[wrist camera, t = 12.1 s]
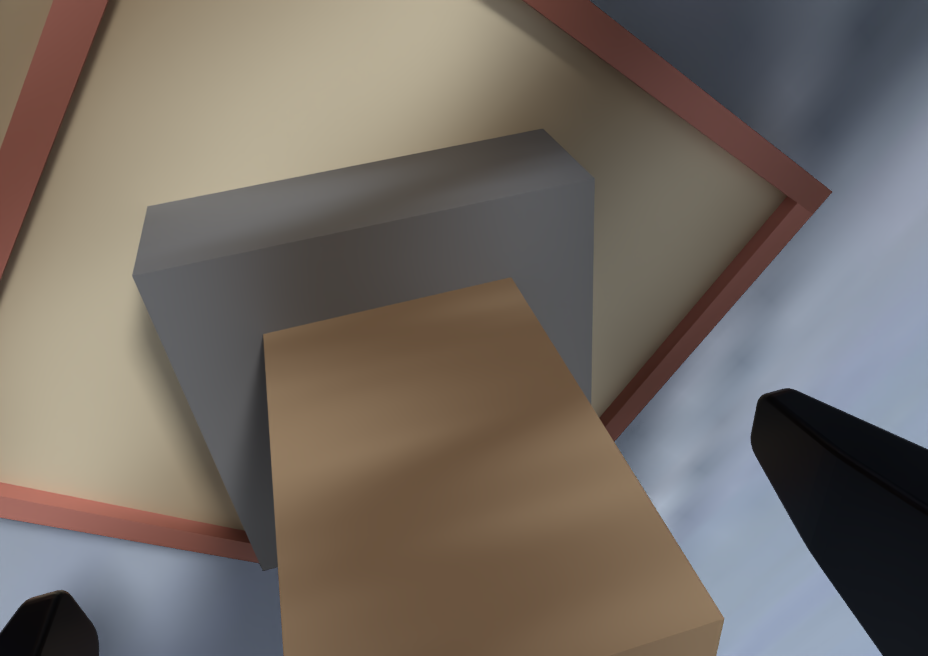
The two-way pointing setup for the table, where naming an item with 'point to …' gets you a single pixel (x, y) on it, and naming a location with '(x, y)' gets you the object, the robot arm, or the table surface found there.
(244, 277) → the stamp
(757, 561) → the table surface
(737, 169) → the board
